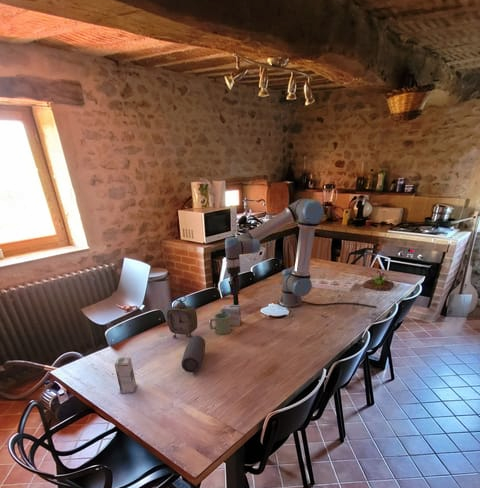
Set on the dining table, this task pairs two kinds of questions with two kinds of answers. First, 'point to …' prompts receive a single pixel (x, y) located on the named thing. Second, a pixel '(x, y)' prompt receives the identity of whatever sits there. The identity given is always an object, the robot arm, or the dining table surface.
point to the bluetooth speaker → (193, 354)
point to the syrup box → (125, 374)
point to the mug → (221, 323)
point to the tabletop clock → (182, 318)
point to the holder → (329, 284)
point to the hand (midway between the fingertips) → (236, 304)
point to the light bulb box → (233, 313)
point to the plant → (379, 283)
